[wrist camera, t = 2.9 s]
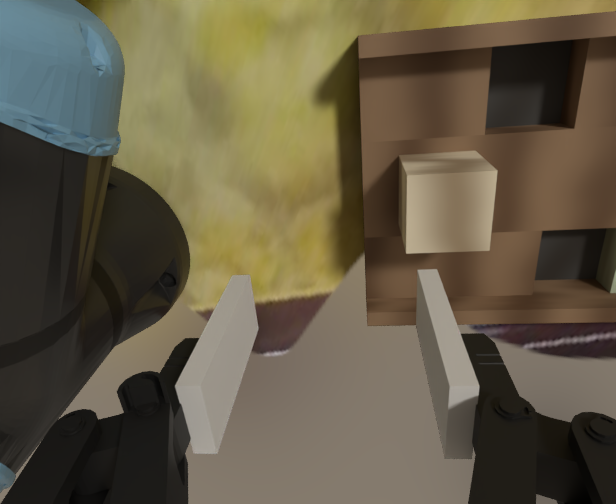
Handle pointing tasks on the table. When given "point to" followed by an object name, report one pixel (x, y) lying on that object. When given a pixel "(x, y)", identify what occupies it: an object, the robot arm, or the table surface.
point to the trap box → (498, 165)
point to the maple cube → (446, 202)
